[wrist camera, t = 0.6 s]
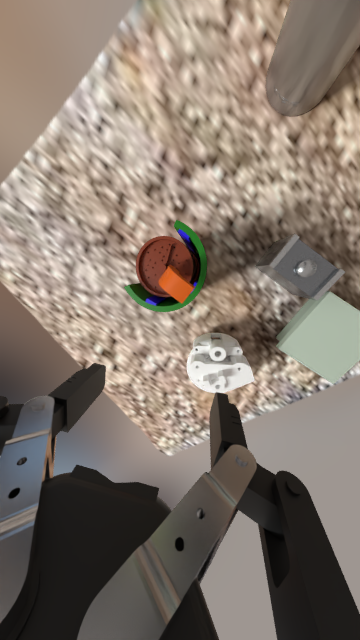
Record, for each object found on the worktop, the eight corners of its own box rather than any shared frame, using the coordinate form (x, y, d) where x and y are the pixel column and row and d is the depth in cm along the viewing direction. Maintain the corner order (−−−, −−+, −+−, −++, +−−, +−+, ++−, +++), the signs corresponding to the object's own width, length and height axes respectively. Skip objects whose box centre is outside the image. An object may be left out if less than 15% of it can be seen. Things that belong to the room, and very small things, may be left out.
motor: (174, 235, 33) (136, 186, 14) (216, 258, 33) (234, 240, 14) (152, 283, 36) (95, 297, 17) (190, 304, 36) (176, 341, 17)
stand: (311, 288, 33) (330, 291, 28) (363, 323, 33) (390, 331, 28) (268, 338, 36) (278, 348, 31) (316, 369, 37) (333, 384, 32)
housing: (273, 242, 32) (295, 233, 24) (312, 272, 32) (346, 272, 25) (254, 266, 33) (270, 265, 26) (292, 294, 33) (318, 300, 26)
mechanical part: (188, 376, 41) (183, 416, 29) (188, 326, 38) (182, 350, 26) (239, 379, 39) (254, 422, 28) (243, 327, 36) (261, 353, 25)
